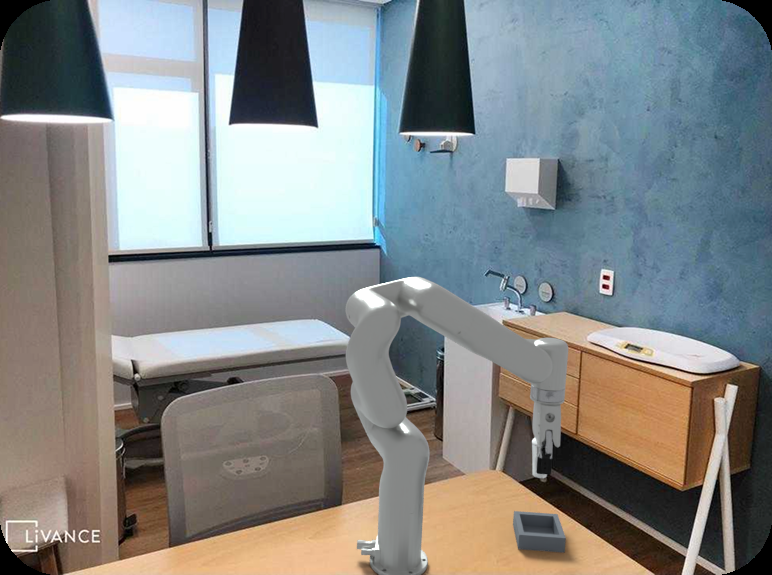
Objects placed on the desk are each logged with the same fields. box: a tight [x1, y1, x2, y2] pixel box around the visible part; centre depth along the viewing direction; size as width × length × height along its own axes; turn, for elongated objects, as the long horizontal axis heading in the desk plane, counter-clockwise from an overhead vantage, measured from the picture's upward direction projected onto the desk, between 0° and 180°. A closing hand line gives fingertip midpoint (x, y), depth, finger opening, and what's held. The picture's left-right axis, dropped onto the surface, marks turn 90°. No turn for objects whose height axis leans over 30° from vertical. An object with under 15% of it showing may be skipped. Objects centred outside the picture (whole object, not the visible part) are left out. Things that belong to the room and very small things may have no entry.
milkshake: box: [531, 437, 548, 479], centre depth 150 cm, size 4×5×10 cm
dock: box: [512, 510, 567, 554], centre depth 154 cm, size 10×10×4 cm
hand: (541, 467), depth 151 cm, fingers closed on milkshake, 4 cm apart
